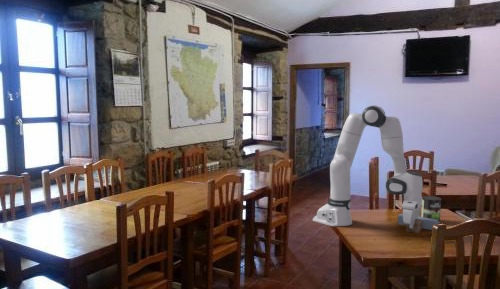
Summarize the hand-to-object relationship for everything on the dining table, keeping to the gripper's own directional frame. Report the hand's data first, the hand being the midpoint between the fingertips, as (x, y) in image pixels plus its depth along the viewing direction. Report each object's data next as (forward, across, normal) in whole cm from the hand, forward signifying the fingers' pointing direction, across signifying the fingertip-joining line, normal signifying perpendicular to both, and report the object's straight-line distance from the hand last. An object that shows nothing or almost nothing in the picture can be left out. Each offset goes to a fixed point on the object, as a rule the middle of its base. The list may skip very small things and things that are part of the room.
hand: (411, 227), depth 211 cm
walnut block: (+3, -6, 0) cm, 7 cm away
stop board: (+3, -13, 0) cm, 13 cm away
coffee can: (+3, -27, +4) cm, 28 cm away
